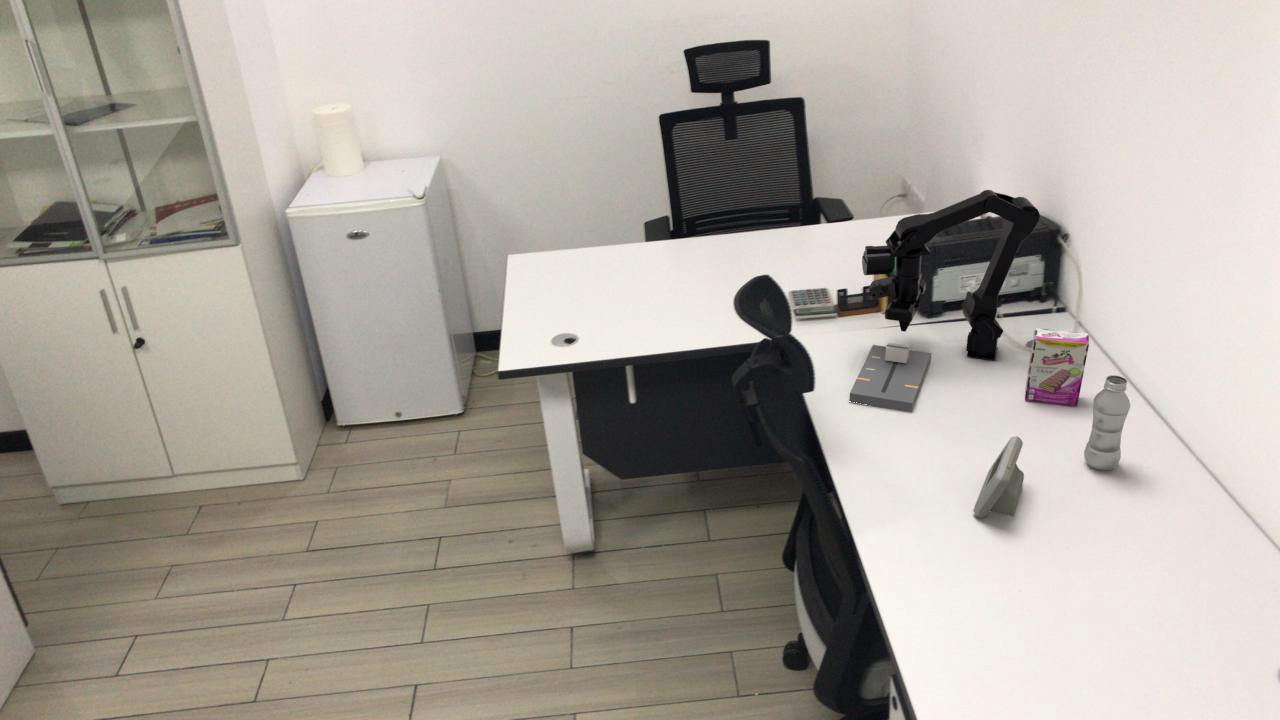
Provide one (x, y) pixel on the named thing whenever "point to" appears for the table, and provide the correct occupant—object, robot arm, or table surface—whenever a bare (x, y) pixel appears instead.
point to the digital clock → (1002, 483)
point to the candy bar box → (1056, 367)
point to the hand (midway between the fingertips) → (903, 330)
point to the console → (890, 380)
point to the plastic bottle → (1107, 424)
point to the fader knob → (897, 353)
